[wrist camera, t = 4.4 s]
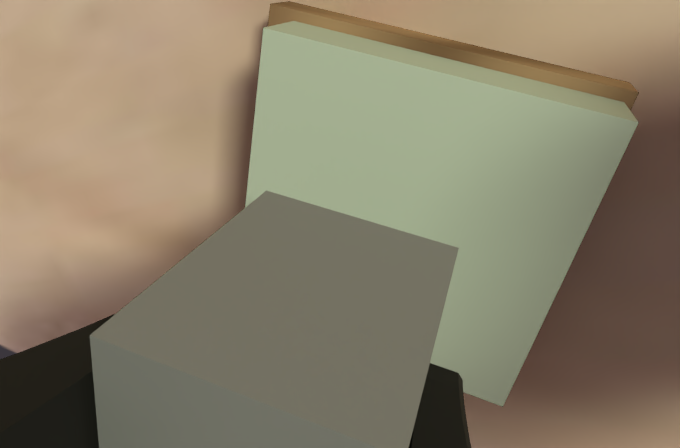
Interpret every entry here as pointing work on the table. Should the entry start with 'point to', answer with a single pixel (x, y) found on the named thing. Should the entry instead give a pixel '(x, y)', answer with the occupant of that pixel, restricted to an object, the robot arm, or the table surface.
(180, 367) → the grey block
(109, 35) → the table surface
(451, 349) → the grey-green slab
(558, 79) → the walnut slab
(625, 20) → the table surface
